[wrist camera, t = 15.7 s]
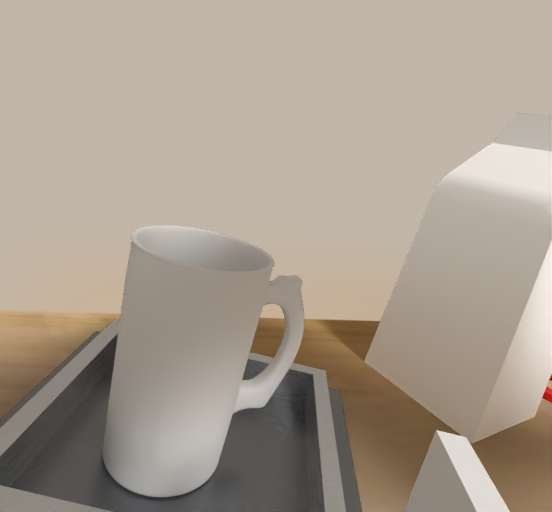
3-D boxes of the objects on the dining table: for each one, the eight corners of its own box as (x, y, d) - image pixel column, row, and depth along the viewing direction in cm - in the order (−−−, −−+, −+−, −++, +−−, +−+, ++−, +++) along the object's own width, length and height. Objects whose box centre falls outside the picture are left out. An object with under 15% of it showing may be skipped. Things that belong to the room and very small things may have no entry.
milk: (364, 361, 42) (453, 94, 35) (430, 351, 49) (516, 125, 42) (471, 443, 33) (620, 104, 26) (534, 416, 40) (665, 142, 33)
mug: (96, 514, 18) (138, 262, 15) (95, 414, 24) (126, 217, 21) (294, 485, 23) (356, 284, 20) (253, 406, 29) (297, 242, 26)
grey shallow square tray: (336, 401, 34) (348, 363, 33) (392, 742, 14) (426, 673, 13) (94, 342, 33) (100, 302, 32) (-183, 612, 14) (-187, 531, 13)
